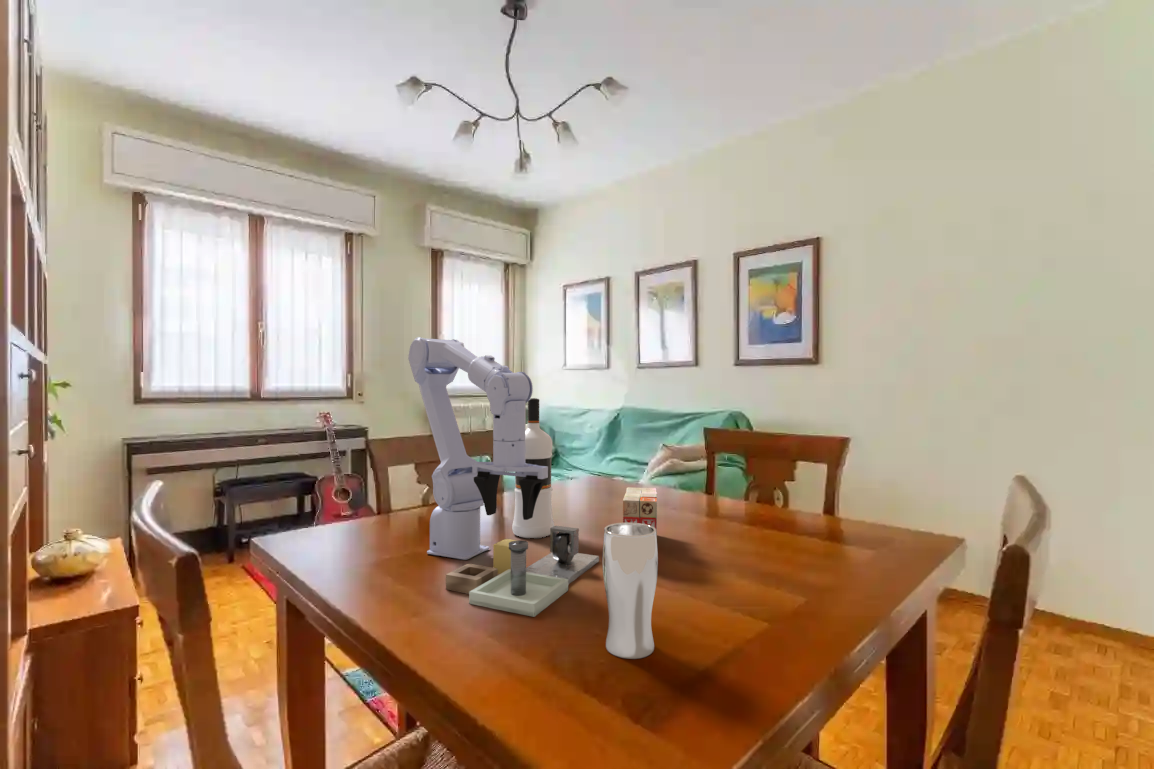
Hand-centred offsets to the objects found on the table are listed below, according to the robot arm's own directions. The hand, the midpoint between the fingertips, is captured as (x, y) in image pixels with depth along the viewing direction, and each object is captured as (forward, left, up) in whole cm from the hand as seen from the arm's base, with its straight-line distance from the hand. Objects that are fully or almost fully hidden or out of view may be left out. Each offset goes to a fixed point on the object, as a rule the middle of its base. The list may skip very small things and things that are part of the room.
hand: (509, 516), depth 98 cm
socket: (-2, -9, -10) cm, 13 cm away
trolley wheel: (+8, +4, -10) cm, 13 cm away
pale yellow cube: (0, 0, -10) cm, 10 cm away
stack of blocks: (+17, +23, -10) cm, 30 cm away
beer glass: (+29, -18, -10) cm, 36 cm away
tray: (+8, -10, -10) cm, 16 cm away
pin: (+8, -10, -9) cm, 15 cm away
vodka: (-8, +23, -10) cm, 26 cm away
